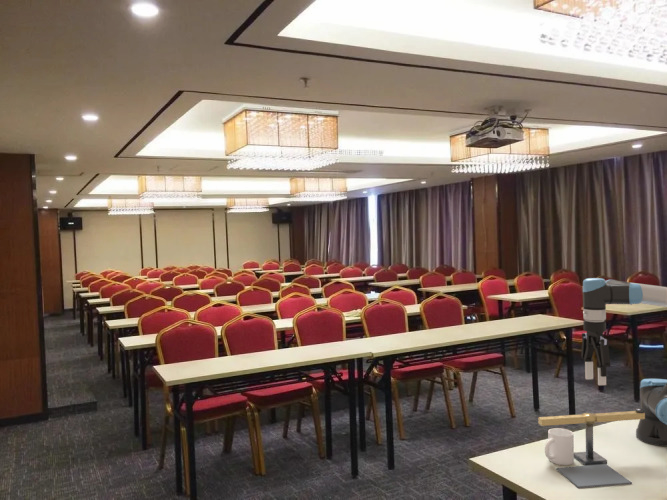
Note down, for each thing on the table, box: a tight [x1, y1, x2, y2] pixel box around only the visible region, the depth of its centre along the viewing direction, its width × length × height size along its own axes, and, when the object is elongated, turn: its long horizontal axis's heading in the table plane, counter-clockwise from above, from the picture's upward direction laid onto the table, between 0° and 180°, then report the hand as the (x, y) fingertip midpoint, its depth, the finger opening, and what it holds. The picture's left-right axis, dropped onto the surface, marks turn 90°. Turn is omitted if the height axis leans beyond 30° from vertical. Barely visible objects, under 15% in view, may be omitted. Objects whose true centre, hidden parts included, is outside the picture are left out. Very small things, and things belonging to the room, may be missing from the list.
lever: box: [537, 407, 645, 427], centre depth 194 cm, size 38×4×3 cm, turn 95°
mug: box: [544, 427, 575, 466], centre depth 194 cm, size 12×8×10 cm
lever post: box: [574, 423, 608, 466], centre depth 194 cm, size 8×8×14 cm
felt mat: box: [555, 463, 633, 489], centre depth 182 cm, size 18×14×1 cm
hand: (595, 381), depth 204 cm, fingers open, 8 cm apart
